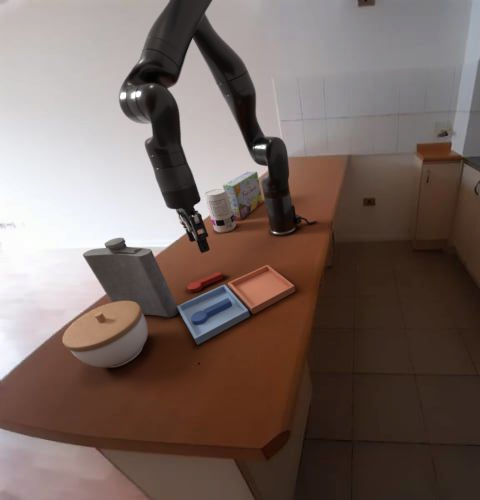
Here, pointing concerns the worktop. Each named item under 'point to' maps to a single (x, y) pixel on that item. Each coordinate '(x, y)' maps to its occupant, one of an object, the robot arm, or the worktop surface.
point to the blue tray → (217, 321)
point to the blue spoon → (210, 311)
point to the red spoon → (204, 282)
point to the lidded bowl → (108, 334)
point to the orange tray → (261, 288)
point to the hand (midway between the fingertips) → (199, 245)
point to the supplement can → (220, 210)
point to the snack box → (244, 194)
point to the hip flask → (132, 277)
